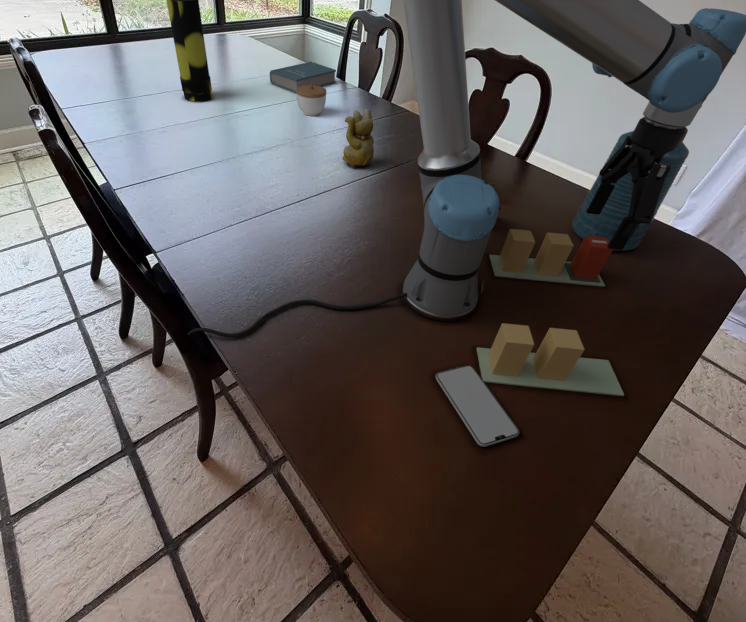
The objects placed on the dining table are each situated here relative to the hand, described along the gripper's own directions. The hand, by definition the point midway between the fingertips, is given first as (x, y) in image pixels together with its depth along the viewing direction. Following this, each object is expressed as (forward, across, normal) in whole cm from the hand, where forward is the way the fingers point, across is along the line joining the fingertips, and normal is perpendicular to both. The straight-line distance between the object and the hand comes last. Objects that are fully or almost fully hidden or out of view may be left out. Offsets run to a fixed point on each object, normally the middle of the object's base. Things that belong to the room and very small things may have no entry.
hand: (603, 229), depth 91 cm
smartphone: (+12, -40, +28) cm, 50 cm away
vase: (+11, +18, -12) cm, 24 cm away
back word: (+12, 0, +7) cm, 14 cm away
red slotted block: (+11, 0, -1) cm, 11 cm away
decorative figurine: (+12, +47, +52) cm, 71 cm away
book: (+13, +121, +80) cm, 146 cm away
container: (+14, +93, +116) cm, 150 cm away
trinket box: (+13, +87, +72) cm, 114 cm away
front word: (+12, -31, +14) cm, 36 cm away
